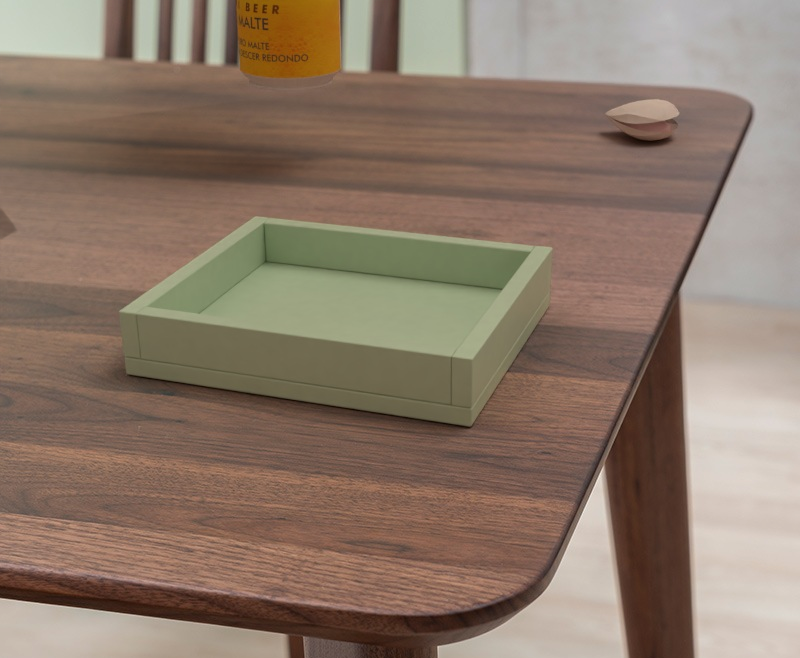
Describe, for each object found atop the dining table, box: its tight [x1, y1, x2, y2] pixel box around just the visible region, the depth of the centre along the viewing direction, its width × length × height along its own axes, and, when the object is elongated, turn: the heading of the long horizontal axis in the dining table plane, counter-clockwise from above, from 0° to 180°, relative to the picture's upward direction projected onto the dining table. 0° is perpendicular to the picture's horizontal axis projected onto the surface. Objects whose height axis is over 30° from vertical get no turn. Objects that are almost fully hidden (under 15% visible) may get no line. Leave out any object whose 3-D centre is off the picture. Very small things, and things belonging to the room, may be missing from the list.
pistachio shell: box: [605, 98, 680, 142], centre depth 83 cm, size 4×5×2 cm
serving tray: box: [118, 215, 554, 428], centre depth 53 cm, size 15×13×3 cm
